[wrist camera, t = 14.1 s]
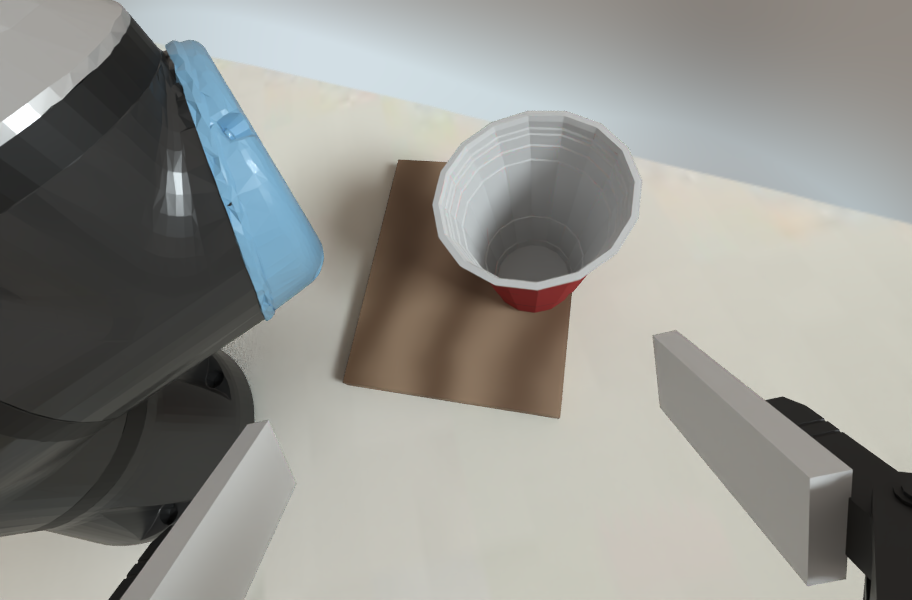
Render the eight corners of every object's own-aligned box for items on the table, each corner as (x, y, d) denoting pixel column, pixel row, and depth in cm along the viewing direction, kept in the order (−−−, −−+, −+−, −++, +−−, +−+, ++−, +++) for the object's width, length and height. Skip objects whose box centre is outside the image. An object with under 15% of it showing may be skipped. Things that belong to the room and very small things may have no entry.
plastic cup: (460, 220, 37) (432, 114, 26) (596, 211, 35) (629, 95, 24) (458, 348, 33) (425, 290, 22) (610, 345, 32) (657, 281, 20)
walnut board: (348, 385, 35) (342, 382, 33) (401, 167, 41) (398, 159, 40) (558, 418, 32) (560, 417, 30) (581, 178, 38) (583, 169, 37)
